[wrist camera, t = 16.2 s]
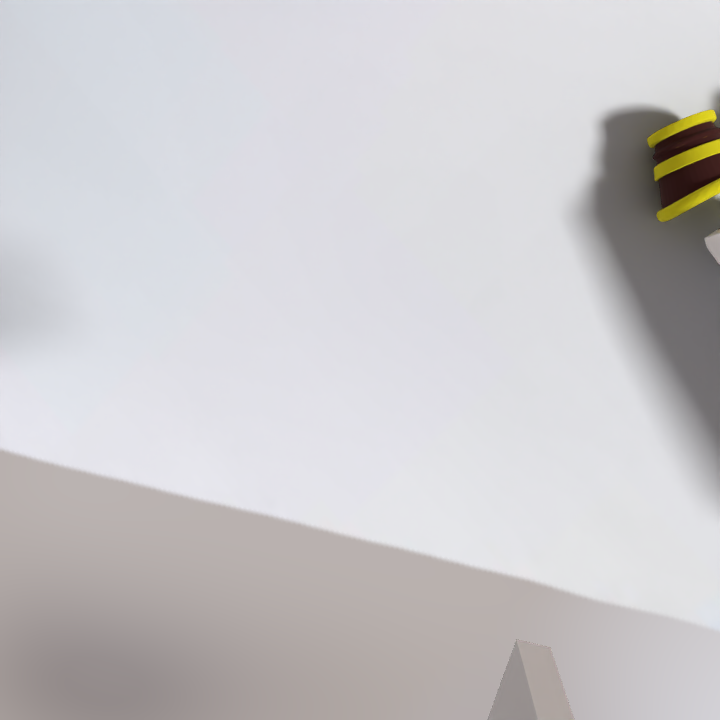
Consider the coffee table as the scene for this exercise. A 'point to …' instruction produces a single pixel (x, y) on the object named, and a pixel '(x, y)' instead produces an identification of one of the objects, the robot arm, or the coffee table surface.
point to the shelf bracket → (714, 244)
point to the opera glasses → (686, 163)
